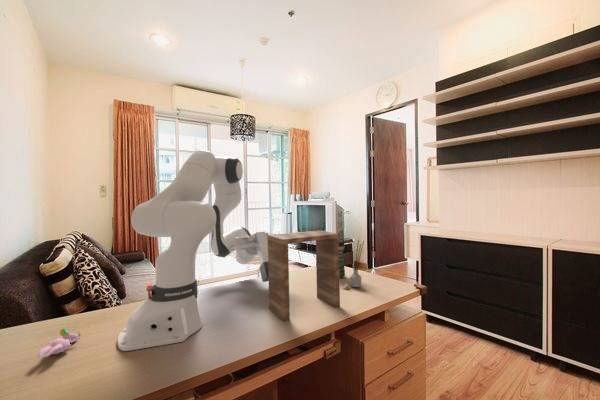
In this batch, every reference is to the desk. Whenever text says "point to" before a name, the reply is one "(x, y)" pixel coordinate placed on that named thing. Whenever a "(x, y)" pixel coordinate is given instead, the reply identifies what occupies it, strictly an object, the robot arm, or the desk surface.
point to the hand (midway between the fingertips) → (261, 234)
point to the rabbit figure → (60, 343)
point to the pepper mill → (262, 254)
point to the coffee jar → (341, 258)
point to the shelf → (324, 268)
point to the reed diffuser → (355, 272)
